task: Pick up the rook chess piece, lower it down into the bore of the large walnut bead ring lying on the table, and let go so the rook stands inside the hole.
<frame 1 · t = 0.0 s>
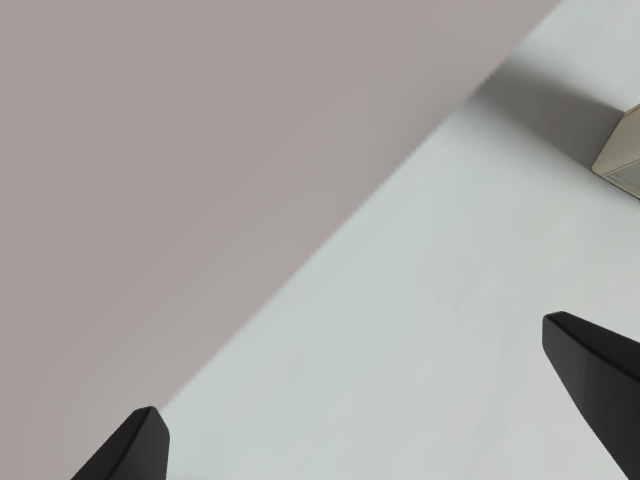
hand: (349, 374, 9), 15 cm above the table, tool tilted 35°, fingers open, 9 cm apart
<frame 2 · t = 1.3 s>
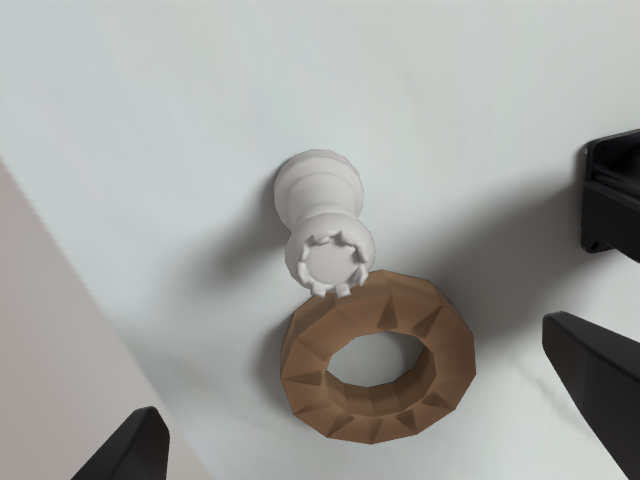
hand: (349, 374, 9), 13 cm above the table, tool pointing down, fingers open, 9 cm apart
rook chess piece: (317, 188, 21), on the table
walnut bead ring: (372, 348, 26), on the table
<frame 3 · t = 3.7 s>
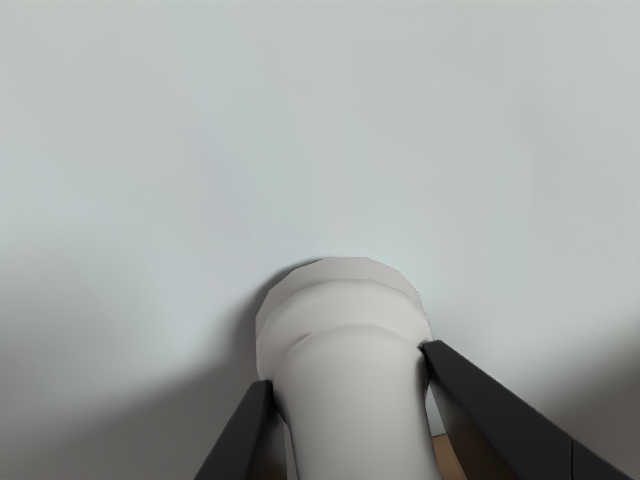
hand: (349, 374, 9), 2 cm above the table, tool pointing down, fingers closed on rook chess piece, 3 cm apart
rook chess piece: (337, 315, 11), on the table, touching gripper
when the fingers open (3 cm above the table, at t = 7.9 s): rook chess piece drops 1 cm, resting in walnut bead ring.
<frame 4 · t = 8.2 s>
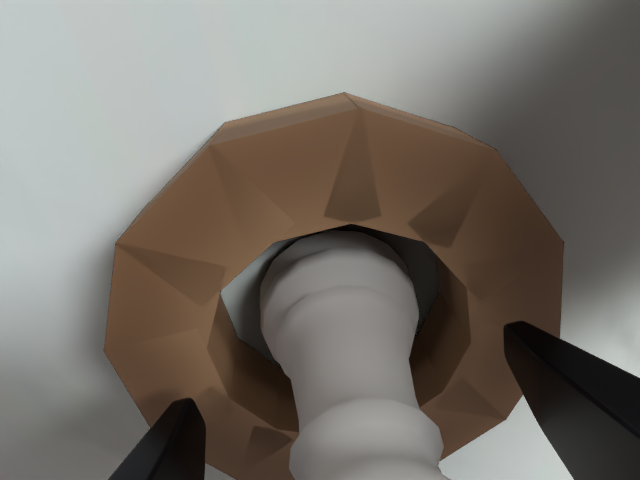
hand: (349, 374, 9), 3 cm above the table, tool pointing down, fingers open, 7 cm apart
rook chess piece: (333, 286, 13), resting in walnut bead ring
walnut bead ring: (332, 292, 12), on the table
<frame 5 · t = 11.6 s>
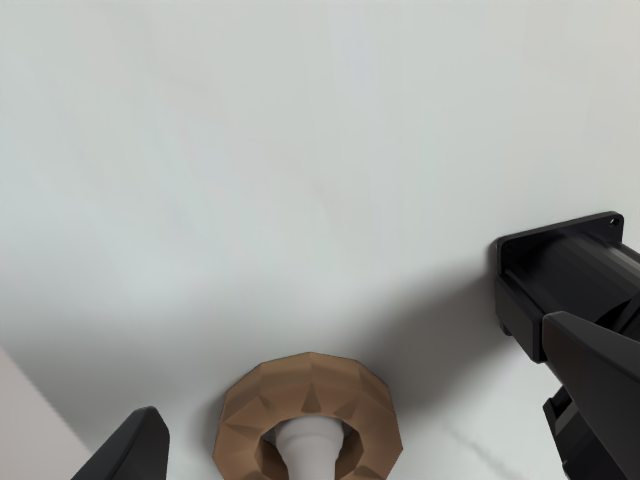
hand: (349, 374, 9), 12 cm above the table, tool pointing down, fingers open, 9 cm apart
rook chess piece: (308, 416, 27), resting in walnut bead ring
walnut bead ring: (307, 420, 27), on the table
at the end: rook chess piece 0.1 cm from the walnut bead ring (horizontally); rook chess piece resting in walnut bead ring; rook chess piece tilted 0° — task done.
